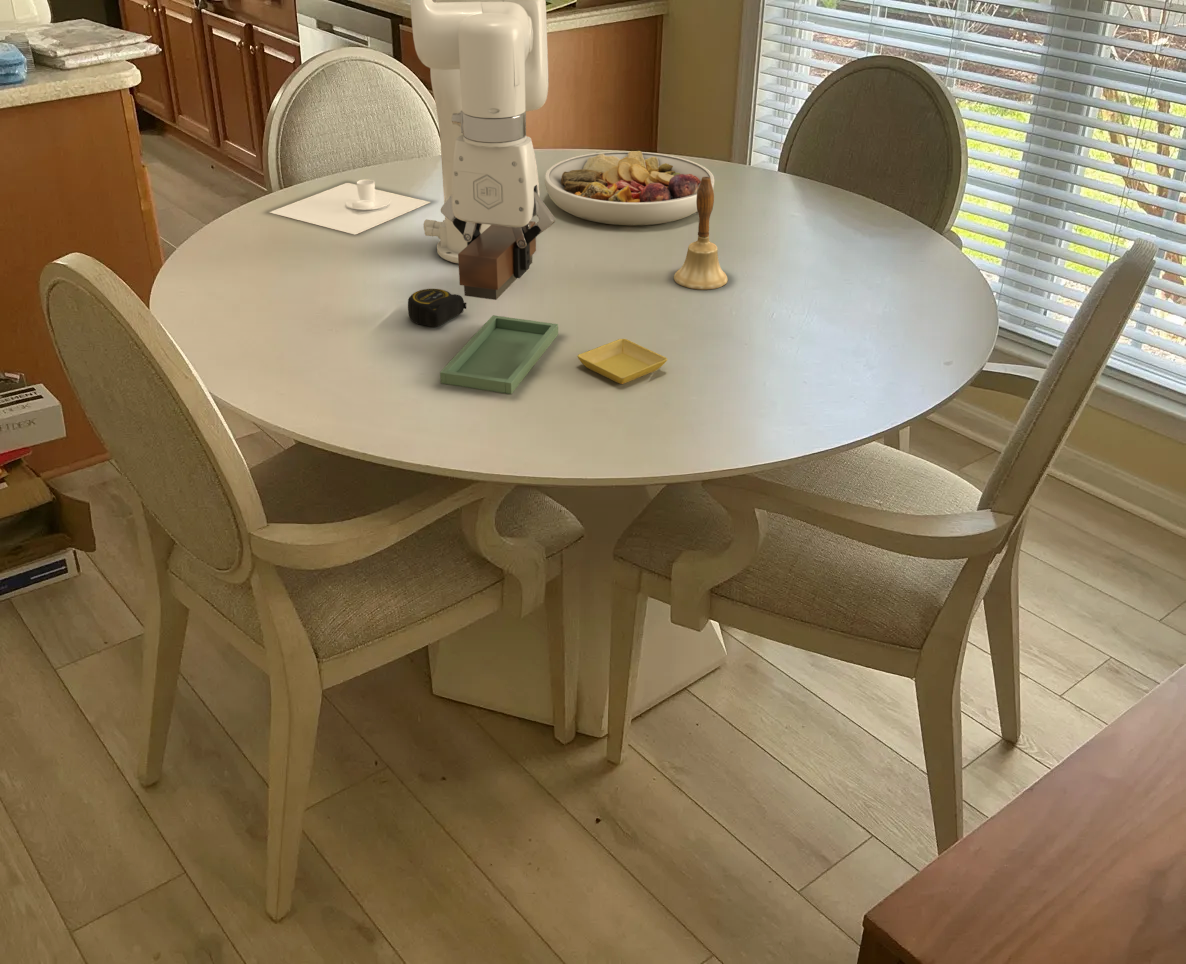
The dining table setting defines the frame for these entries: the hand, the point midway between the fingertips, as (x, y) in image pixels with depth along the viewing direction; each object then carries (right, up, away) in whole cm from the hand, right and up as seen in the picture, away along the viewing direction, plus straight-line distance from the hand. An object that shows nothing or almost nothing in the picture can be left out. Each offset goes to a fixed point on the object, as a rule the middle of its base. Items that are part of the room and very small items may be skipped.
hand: (499, 270), depth 146 cm
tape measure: (-10, -4, +17) cm, 21 cm away
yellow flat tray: (+16, -13, +5) cm, 21 cm away
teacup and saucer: (-31, +22, +58) cm, 69 cm away
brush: (0, -1, +1) cm, 1 cm away
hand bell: (+28, +4, +32) cm, 43 cm away
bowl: (+18, +23, +62) cm, 68 cm away
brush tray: (0, -11, +7) cm, 13 cm away
